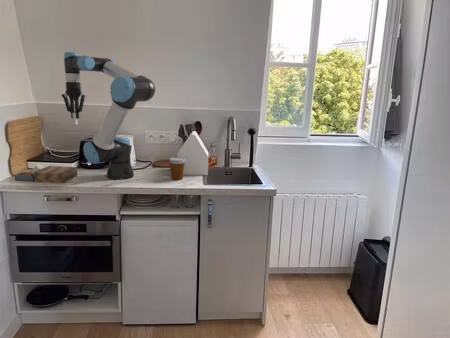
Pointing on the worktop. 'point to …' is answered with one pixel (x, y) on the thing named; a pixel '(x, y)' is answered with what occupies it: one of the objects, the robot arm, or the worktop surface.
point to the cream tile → (37, 168)
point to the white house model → (194, 156)
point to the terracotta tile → (27, 173)
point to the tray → (24, 177)
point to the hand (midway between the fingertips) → (75, 124)
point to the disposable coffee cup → (177, 167)
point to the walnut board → (55, 174)
